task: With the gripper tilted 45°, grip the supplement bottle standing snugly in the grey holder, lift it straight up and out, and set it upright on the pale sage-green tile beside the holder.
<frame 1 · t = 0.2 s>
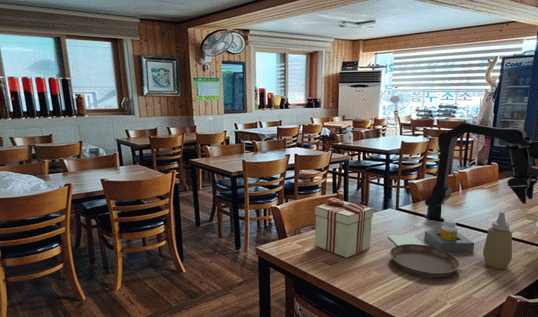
hand: (527, 201, 138), 15 cm above the table, tool pointing down, fingers open, 9 cm apart
tile: (405, 241, 138), on the table
supplement bottle: (447, 246, 134), resting in holder
holder: (447, 245, 134), on the table
gift box: (342, 246, 133), on the table
plant saucer: (422, 266, 118), on the table
squeeze bottle: (495, 266, 118), on the table
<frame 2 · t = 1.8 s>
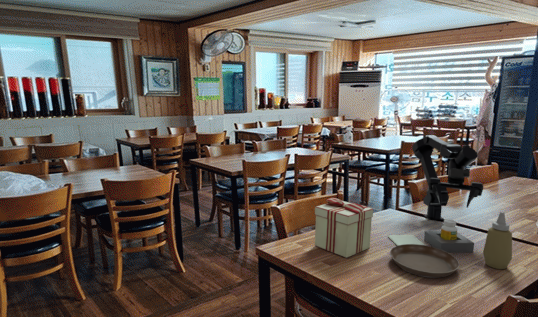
hand: (453, 205, 139), 13 cm above the table, tool tilted 45°, fingers open, 9 cm apart
nothing on the table moved.
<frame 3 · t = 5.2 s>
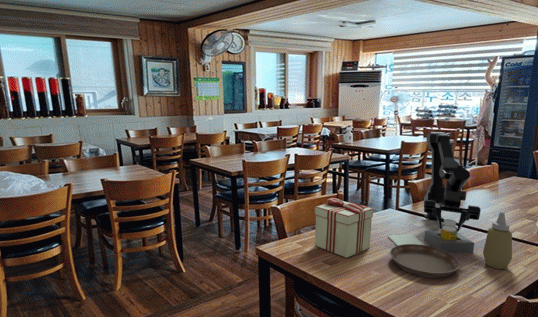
hand: (449, 229, 132), 7 cm above the table, tool tilted 45°, fingers closed on supplement bottle, 5 cm apart
supplement bottle: (447, 246, 134), resting in holder, touching gripper
everything else where it was.
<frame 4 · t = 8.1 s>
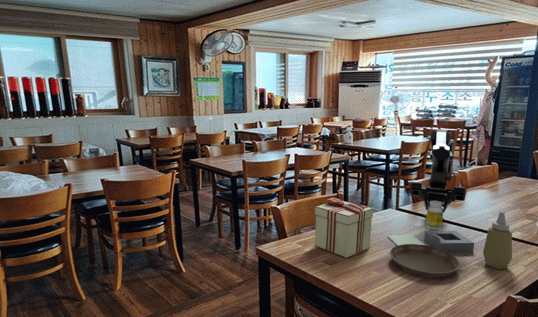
hand: (435, 210, 132), 13 cm above the table, tool tilted 45°, fingers closed on supplement bottle, 5 cm apart
supplement bottle: (433, 227, 135), point 6 cm above the table, touching gripper
everything else where it was.
when the fingers open (8 cm above the table, at t = 11.3 s): supplement bottle stays where it is, resting on tile.
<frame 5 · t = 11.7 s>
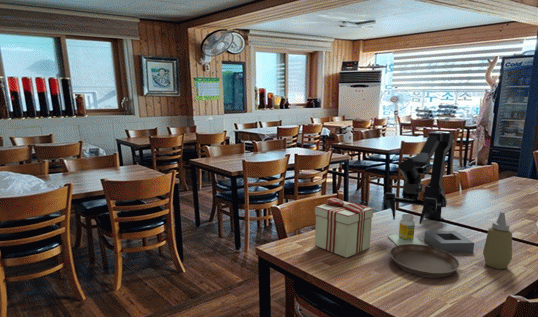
hand: (406, 221, 135), 8 cm above the table, tool tilted 45°, fingers open, 9 cm apart
supplement bottle: (405, 240, 138), resting on tile
everything else where it was.
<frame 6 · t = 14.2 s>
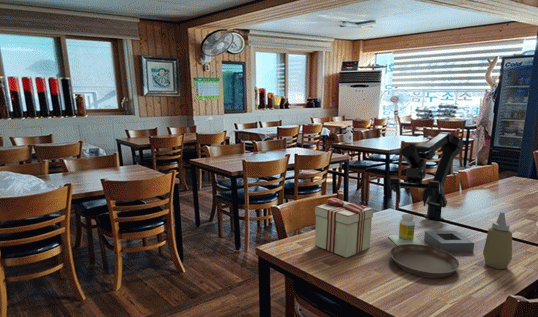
hand: (411, 204, 141), 13 cm above the table, tool tilted 45°, fingers open, 9 cm apart
nothing on the table moved.
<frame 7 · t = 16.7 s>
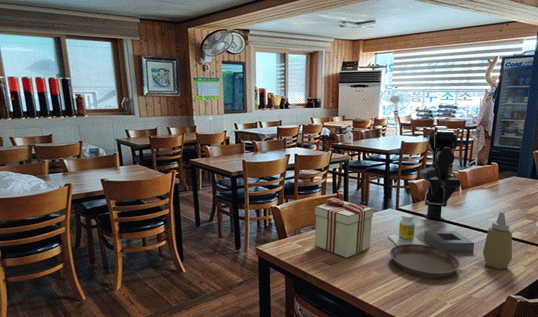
hand: (439, 198, 150), 13 cm above the table, tool pointing down, fingers open, 9 cm apart
nothing on the table moved.
at the end: supplement bottle inside the target area on the tile (0.2 cm from its centre), point 0.4 cm above the tile's base; supplement bottle tilted 0°; the gripper is holding nothing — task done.
